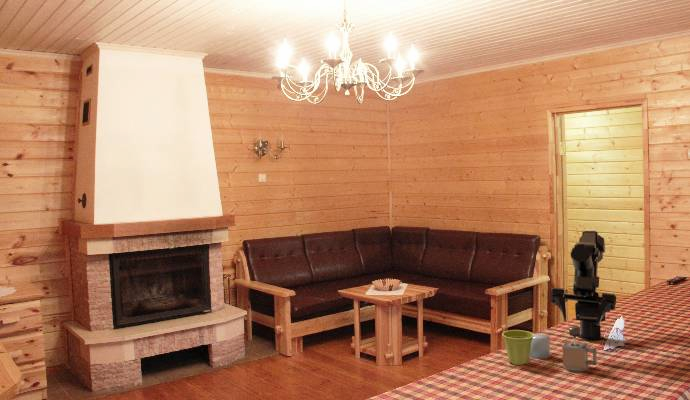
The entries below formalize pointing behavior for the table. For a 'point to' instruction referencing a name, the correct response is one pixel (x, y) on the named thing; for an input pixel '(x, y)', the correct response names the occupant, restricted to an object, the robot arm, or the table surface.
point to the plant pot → (518, 346)
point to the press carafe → (577, 356)
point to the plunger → (574, 333)
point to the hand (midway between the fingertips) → (581, 323)
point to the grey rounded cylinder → (540, 346)
